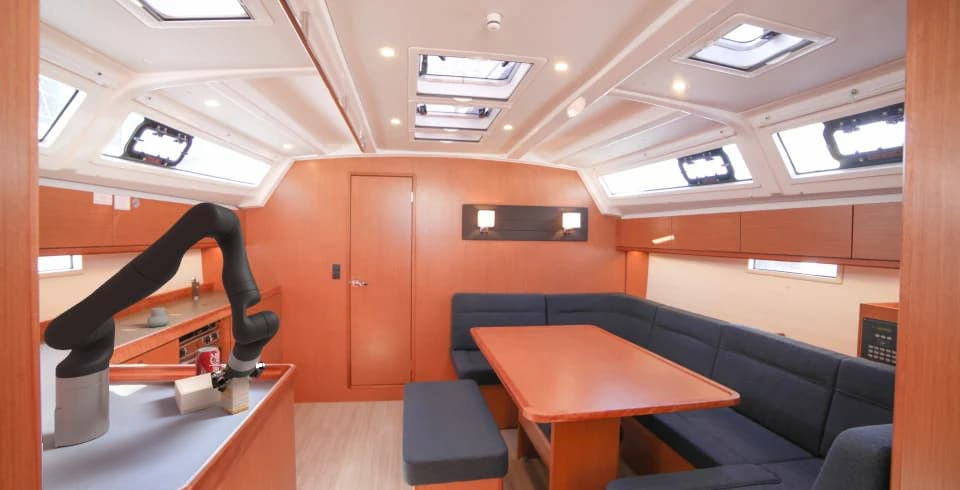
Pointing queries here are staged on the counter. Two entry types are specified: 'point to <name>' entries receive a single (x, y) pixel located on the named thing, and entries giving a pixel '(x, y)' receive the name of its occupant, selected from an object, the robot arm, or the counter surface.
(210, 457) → the counter surface
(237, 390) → the supplement box
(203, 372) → the soda can
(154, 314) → the air freshener
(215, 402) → the bin
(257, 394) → the counter surface
